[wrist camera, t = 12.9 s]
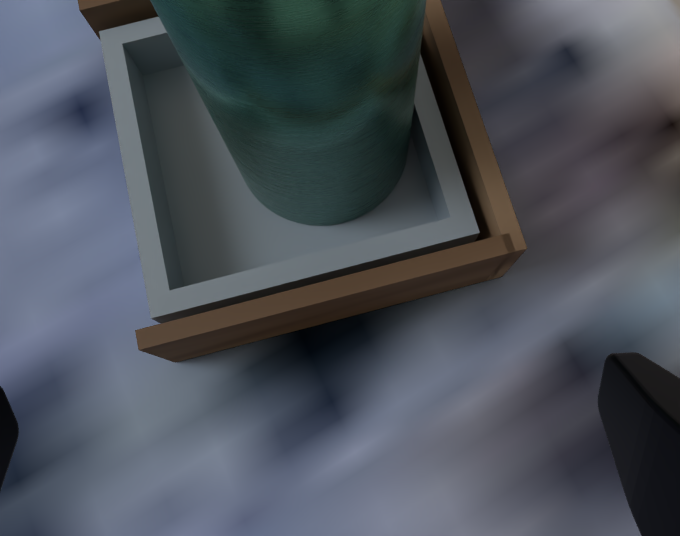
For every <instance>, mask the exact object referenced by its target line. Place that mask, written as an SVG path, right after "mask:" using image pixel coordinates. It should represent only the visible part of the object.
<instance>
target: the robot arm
mask: <svg viewBox="0 0 680 536" xmlns="http://www.w3.org/2000/svg"><path fill="white" fill-rule="evenodd" d="M598 408H599V413H600V416H601V420H602V423H603V426H604V429H605V432H606V435H607V439H608V442H609V445H610V448H611V451H612V455H613V458H614V461H615V464H616V467H617V470H618V474H619V477H620V480H621V483H622V486H623V490H624V493H625V496H626V498H627V501H628V504H629V507H630V510H631V512H632V515H633V517H634V519H635V522H636V524H637V526H638V529H639V531H640V533H641V535H642V536H680V378H678V377H677V376H675V375H674V374H672V373H670V372H669V371H667V370H665V369H664V368H662V367H661V366H659V365H657V364H656V363H654V362H652V361H651V360H649V359H648V358H646V357H644V356H643V355H641V354H639V353H634V352H630V353H612V354H610V355H608V356H607V358H606V360H605V363H604V367H603V373H602V378H601V383H600V388H599V394H598ZM18 434H19V428H18V423H17V420H16V418H15V415H14V413H13V411H12V408H11V406H10V404H9V401H8V399H7V397H6V395H5V392H4V390H3V388H2V387H1V386H0V491H1V488H2V485H3V482H4V479H5V476H6V473H7V470H8V467H9V464H10V461H11V458H12V455H13V452H14V449H15V446H16V443H17V439H18Z"/></svg>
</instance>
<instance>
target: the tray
mask: <svg viewBox="0 0 680 536" xmlns="http://www.w3.org/2000/svg"><path fill="white" fill-rule="evenodd" d="M99 34H100V40H101V45H102V51H103V56H104V62H105V67H106V73H107V78H108V84H109V89H110V95H111V100H112V106H113V111H114V117H115V122H116V128H117V133H118V139H119V144H120V150H121V156H122V161H123V167H124V172H125V178H126V183H127V189H128V194H129V200H130V205H131V211H132V216H133V222H134V227H135V233H136V238H137V244H138V249H139V255H140V260H141V266H142V271H143V277H144V282H145V288H146V293H147V299H148V304H149V310H150V315H151V319H153V320H155V321H157V322H159V323H161V324H162V323H166V322H169V321H173V320H177V319H181V318H185V317H189V316H192V315H196V314H200V313H204V312H208V311H212V310H215V309H219V308H223V307H227V306H231V305H235V304H238V303H242V302H246V301H250V300H254V299H258V298H261V297H265V296H269V295H273V294H277V293H281V292H284V291H288V290H292V289H296V288H300V287H304V286H307V285H311V284H315V283H319V282H323V281H327V280H330V279H334V278H338V277H342V276H346V275H350V274H353V273H357V272H361V271H365V270H369V269H373V268H376V267H380V266H384V265H388V264H392V263H396V262H399V261H403V260H407V259H411V258H415V257H419V256H422V255H426V254H430V253H434V252H438V251H442V250H445V249H449V248H453V247H457V246H461V245H465V244H468V243H472V242H475V240H476V238H477V237H478V235H479V233H480V232H479V229H478V226H477V223H476V220H475V217H474V214H473V211H472V208H471V205H470V202H469V199H468V196H467V193H466V190H465V187H464V184H463V181H462V178H461V175H460V172H459V169H458V166H457V162H456V159H455V156H454V153H453V150H452V147H451V144H450V141H449V138H448V135H447V132H446V129H445V126H444V123H443V120H442V117H441V114H440V111H439V108H438V105H437V102H436V99H435V96H434V93H433V90H432V87H431V84H430V81H429V78H428V75H427V72H426V69H425V66H424V63H423V60H422V57H421V54H420V58H419V67H418V75H417V83H416V91H415V100H414V108H413V116H412V125H411V133H410V141H409V149H408V156H407V161H406V165H405V168H404V171H403V174H402V176H401V178H400V180H399V182H398V183H397V185H396V186H395V188H394V189H393V191H392V192H391V193H390V194H389V196H388V197H387V198H386V199H385V200H384V201H383V202H382V203H380V204H379V205H378V206H377V207H376V208H374V209H373V210H371V211H370V212H368V213H366V214H365V215H363V216H361V217H358V218H356V219H354V220H351V221H348V222H345V223H341V224H335V225H326V226H314V225H305V224H300V223H296V222H293V221H290V220H287V219H285V218H283V217H280V216H278V215H276V214H275V213H273V212H272V211H270V210H269V209H267V208H266V207H265V206H264V205H263V204H261V203H260V202H259V201H258V200H257V198H256V197H255V196H254V195H253V194H252V192H251V191H250V189H249V188H248V186H247V185H246V183H245V181H244V179H243V177H242V175H241V173H240V171H239V169H238V168H237V166H236V164H235V162H234V160H233V158H232V156H231V154H230V152H229V150H228V148H227V146H226V145H225V143H224V141H223V139H222V137H221V135H220V133H219V131H218V129H217V127H216V125H215V124H214V122H213V120H212V118H211V116H210V114H209V112H208V110H207V108H206V106H205V104H204V102H203V101H202V99H201V97H200V95H199V93H198V91H197V89H196V87H195V85H194V83H193V81H192V80H191V78H190V76H189V74H188V72H187V70H186V68H185V66H184V64H183V62H182V60H181V58H180V57H179V55H178V53H177V51H176V49H175V47H174V45H173V43H172V41H171V39H170V37H169V36H168V34H167V32H166V30H165V28H164V26H163V24H162V22H161V20H160V18H159V17H155V18H151V19H147V20H143V21H139V22H135V23H131V24H127V25H123V26H119V27H115V28H111V29H107V30H103V31H99Z"/></svg>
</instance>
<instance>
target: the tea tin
mask: <svg viewBox="0 0 680 536" xmlns="http://www.w3.org/2000/svg"><path fill="white" fill-rule="evenodd" d="M150 1H151V3H152V5H153V7H154V9H155V11H156V13H157V15H158V16H159V18H160V20H161V22H162V24H163V26H164V28H165V30H166V32H167V34H168V36H169V37H170V39H171V41H172V43H173V45H174V47H175V49H176V51H177V53H178V55H179V57H180V58H181V60H182V62H183V64H184V66H185V68H186V70H187V72H188V74H189V76H190V78H191V80H192V81H193V83H194V85H195V87H196V89H197V91H198V93H199V95H200V97H201V99H202V101H203V102H204V104H205V106H206V108H207V110H208V112H209V114H210V116H211V118H212V120H213V122H214V124H215V125H216V127H217V129H218V131H219V133H220V135H221V137H222V139H223V141H224V143H225V145H226V146H227V148H228V150H229V152H230V154H231V156H232V158H233V160H234V162H235V164H236V166H237V168H238V169H239V171H240V173H241V175H242V177H243V179H244V181H245V183H246V185H247V186H248V188H249V189H250V191H251V192H252V194H253V195H254V196H255V197H256V198H257V200H258V201H259V202H260V203H261V204H263V205H264V206H265V207H266V208H267V209H269V210H270V211H272V212H273V213H275V214H276V215H278V216H280V217H283V218H285V219H287V220H290V221H293V222H296V223H300V224H305V225H314V226H326V225H335V224H341V223H345V222H348V221H351V220H354V219H356V218H358V217H361V216H363V215H365V214H366V213H368V212H370V211H371V210H373V209H374V208H376V207H377V206H378V205H379V204H380V203H382V202H383V201H384V200H385V199H386V198H387V197H388V196H389V194H390V193H391V192H392V191H393V189H394V188H395V186H396V185H397V183H398V182H399V180H400V178H401V176H402V174H403V171H404V168H405V165H406V161H407V156H408V149H409V141H410V133H411V125H412V116H413V108H414V100H415V91H416V83H417V75H418V67H419V58H420V50H421V42H422V33H423V25H424V17H425V9H426V0H150Z"/></svg>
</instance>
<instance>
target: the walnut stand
mask: <svg viewBox="0 0 680 536" xmlns="http://www.w3.org/2000/svg"><path fill="white" fill-rule="evenodd" d="M78 4H79V10H80V12H81V13H82V15H83V16H84V17H85V19H86V20H87V22H88V23H89V25H90V26H91V28H92V29H93V30H94V32H95V33H96V35H97V36H98V38H99V39H100V34H99V31H103V30H107V29H111V28H115V27H119V26H123V25H127V24H131V23H135V22H139V21H143V20H147V19H151V18H155V17H159V16H158V15H157V13H156V11H155V9H154V7H153V5H152V3H151V1H150V0H78ZM100 41H101V40H100ZM420 54H421V57H422V60H423V63H424V66H425V69H426V72H427V75H428V78H429V81H430V84H431V87H432V90H433V93H434V96H435V99H436V102H437V105H438V108H439V111H440V114H441V117H442V120H443V123H444V126H445V129H446V132H447V135H448V138H449V141H450V144H451V147H452V150H453V153H454V156H455V159H456V162H457V166H458V169H459V172H460V175H461V178H462V181H463V184H464V187H465V190H466V193H467V196H468V199H469V202H470V205H471V208H472V211H473V214H474V217H475V220H476V223H477V226H478V229H479V232H480V233H479V235H478V237H477V238H476V240H475V242H472V243H468V244H465V245H461V246H457V247H453V248H449V249H445V250H442V251H438V252H434V253H430V254H426V255H422V256H419V257H415V258H411V259H407V260H403V261H399V262H396V263H392V264H388V265H384V266H380V267H376V268H373V269H369V270H365V271H361V272H357V273H353V274H350V275H346V276H342V277H338V278H334V279H330V280H327V281H323V282H319V283H315V284H311V285H307V286H304V287H300V288H296V289H292V290H288V291H284V292H281V293H277V294H273V295H269V296H265V297H261V298H258V299H254V300H250V301H246V302H242V303H238V304H235V305H231V306H227V307H223V308H219V309H215V310H212V311H208V312H204V313H200V314H196V315H192V316H189V317H185V318H181V319H177V320H173V321H169V322H166V323H162V324H158V325H154V326H150V327H146V328H143V329H139V330H135V332H136V338H137V343H138V349H139V350H140V351H143V352H146V353H149V354H152V355H155V356H158V357H161V358H164V359H167V360H169V361H172V362H179V361H183V360H187V359H190V358H194V357H198V356H202V355H206V354H209V353H213V352H217V351H221V350H225V349H228V348H232V347H236V346H240V345H244V344H248V343H251V342H255V341H259V340H263V339H267V338H270V337H274V336H278V335H282V334H286V333H289V332H293V331H297V330H301V329H305V328H308V327H312V326H316V325H320V324H324V323H328V322H331V321H335V320H339V319H343V318H347V317H350V316H354V315H358V314H362V313H366V312H369V311H373V310H377V309H381V308H385V307H388V306H392V305H396V304H400V303H404V302H408V301H411V300H415V299H419V298H423V297H427V296H430V295H434V294H438V293H442V292H446V291H449V290H453V289H457V288H461V287H465V286H469V285H472V284H476V283H480V282H484V281H488V280H491V279H495V278H499V277H502V276H503V275H504V274H505V273H506V272H507V271H508V269H509V268H510V267H511V266H512V265H513V264H514V263H515V262H516V260H517V259H518V258H519V257H520V256H521V255H522V254H523V253H524V251H525V250H526V249H527V246H526V243H525V241H524V238H523V235H522V232H521V229H520V226H519V223H518V221H517V218H516V215H515V212H514V209H513V206H512V203H511V201H510V198H509V195H508V192H507V189H506V186H505V183H504V181H503V178H502V175H501V172H500V169H499V166H498V163H497V161H496V158H495V155H494V152H493V149H492V146H491V143H490V141H489V138H488V135H487V132H486V129H485V126H484V123H483V121H482V118H481V115H480V112H479V109H478V106H477V104H476V101H475V98H474V95H473V92H472V89H471V86H470V84H469V81H468V78H467V75H466V72H465V69H464V66H463V64H462V61H461V58H460V55H459V52H458V49H457V46H456V44H455V41H454V38H453V35H452V32H451V29H450V26H449V24H448V21H447V18H446V15H445V12H444V9H443V6H442V4H441V1H440V0H426V9H425V17H424V25H423V33H422V42H421V50H420Z"/></svg>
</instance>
